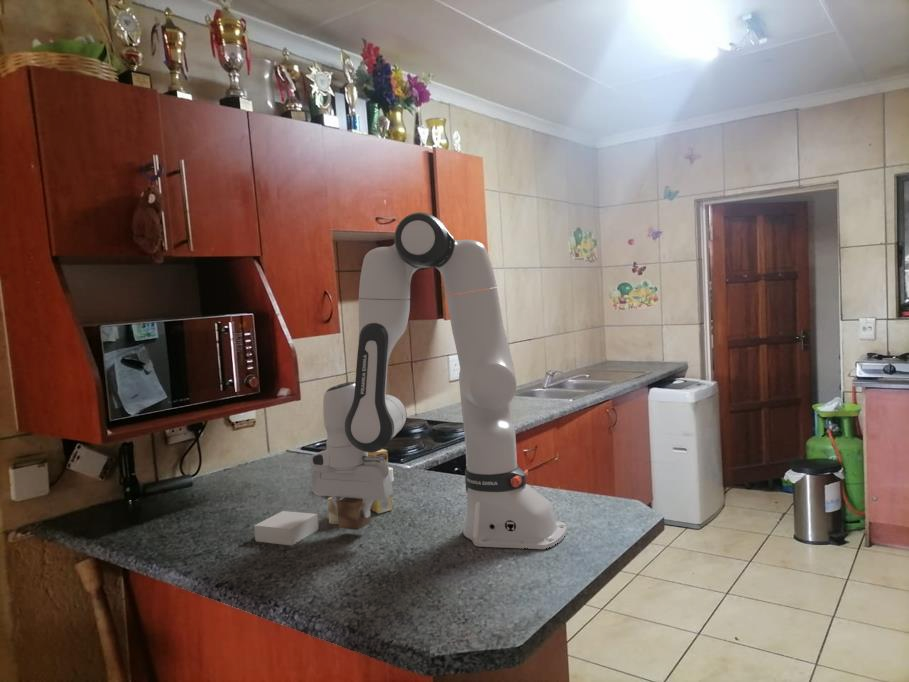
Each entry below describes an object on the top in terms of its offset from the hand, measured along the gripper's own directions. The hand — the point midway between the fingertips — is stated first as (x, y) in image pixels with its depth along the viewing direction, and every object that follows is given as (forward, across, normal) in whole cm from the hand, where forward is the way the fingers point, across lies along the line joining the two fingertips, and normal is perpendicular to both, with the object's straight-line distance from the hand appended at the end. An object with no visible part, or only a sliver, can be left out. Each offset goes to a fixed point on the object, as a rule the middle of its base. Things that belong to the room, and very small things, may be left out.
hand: (354, 515), depth 145 cm
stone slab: (+4, +16, +5) cm, 17 cm away
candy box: (+5, +6, -17) cm, 19 cm away
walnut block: (+2, 0, 0) cm, 2 cm away
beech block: (+4, +9, -7) cm, 12 cm away
